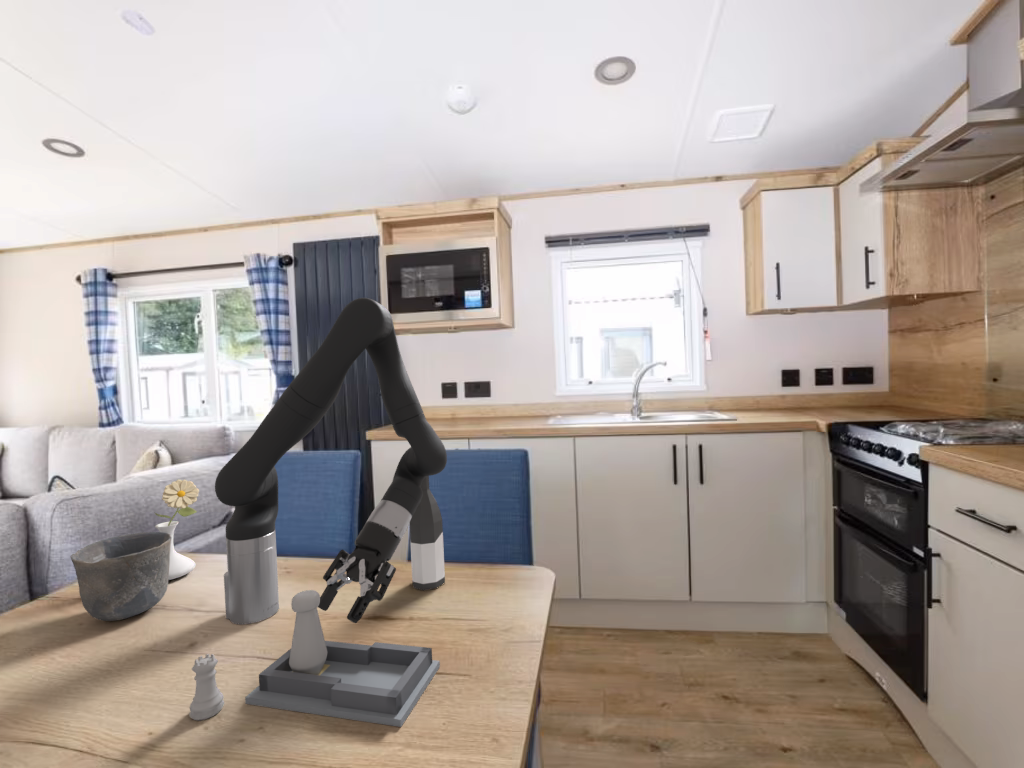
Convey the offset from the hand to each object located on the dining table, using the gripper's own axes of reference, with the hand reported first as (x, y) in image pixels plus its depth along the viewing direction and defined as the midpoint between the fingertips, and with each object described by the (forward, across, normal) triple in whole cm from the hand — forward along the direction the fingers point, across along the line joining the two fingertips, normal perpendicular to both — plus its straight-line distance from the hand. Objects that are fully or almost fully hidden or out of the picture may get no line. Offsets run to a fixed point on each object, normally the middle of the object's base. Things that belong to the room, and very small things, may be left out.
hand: (335, 614), depth 83 cm
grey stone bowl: (+15, -58, -3) cm, 59 cm away
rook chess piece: (+19, -6, -7) cm, 21 cm away
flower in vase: (+5, -71, +7) cm, 72 cm away
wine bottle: (-16, -9, +28) cm, 33 cm away
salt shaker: (+9, 0, +1) cm, 9 cm away
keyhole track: (+8, +7, +4) cm, 11 cm away
